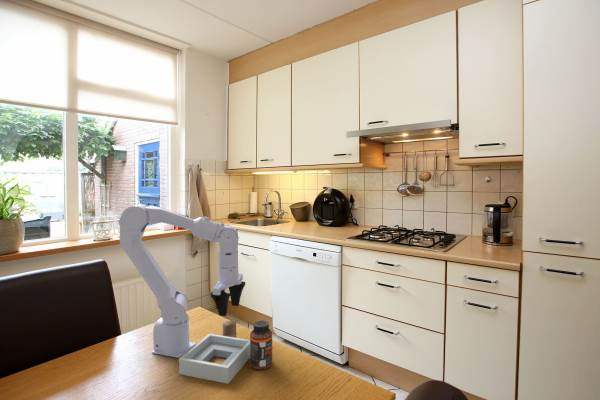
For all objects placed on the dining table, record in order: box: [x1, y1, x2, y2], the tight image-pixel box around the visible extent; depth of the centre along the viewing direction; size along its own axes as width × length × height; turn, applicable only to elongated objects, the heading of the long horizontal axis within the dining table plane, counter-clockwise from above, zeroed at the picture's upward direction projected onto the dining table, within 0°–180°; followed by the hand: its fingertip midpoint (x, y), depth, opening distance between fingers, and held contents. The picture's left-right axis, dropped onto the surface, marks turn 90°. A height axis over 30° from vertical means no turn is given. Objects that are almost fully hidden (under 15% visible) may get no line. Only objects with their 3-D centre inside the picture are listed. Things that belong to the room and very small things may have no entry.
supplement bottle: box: [249, 320, 273, 371], centre depth 87 cm, size 6×6×11 cm
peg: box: [222, 320, 237, 338], centre depth 98 cm, size 4×4×6 cm
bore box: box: [178, 333, 250, 385], centre depth 87 cm, size 14×14×4 cm
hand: (229, 310), depth 98 cm, fingers open, 7 cm apart
